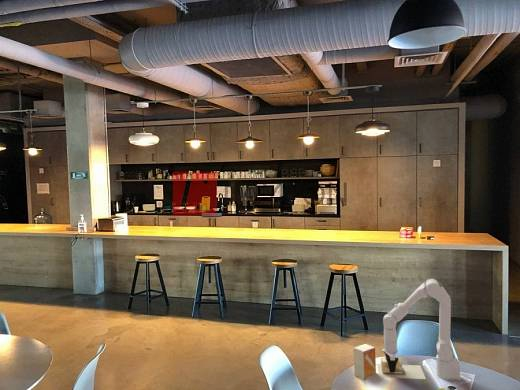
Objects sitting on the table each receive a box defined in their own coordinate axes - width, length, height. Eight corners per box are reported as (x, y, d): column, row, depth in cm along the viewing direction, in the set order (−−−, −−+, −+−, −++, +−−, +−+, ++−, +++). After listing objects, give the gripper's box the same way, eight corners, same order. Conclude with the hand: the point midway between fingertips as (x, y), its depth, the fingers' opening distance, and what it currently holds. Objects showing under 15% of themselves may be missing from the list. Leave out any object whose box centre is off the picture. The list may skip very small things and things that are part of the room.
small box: (364, 380, 192) (363, 351, 192) (354, 375, 198) (352, 347, 197) (376, 374, 197) (375, 347, 196) (366, 370, 202) (365, 343, 202)
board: (420, 367, 202) (420, 365, 202) (426, 381, 188) (425, 379, 188) (377, 366, 206) (376, 364, 206) (379, 379, 192) (379, 377, 192)
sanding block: (400, 368, 199) (400, 358, 199) (402, 373, 194) (401, 362, 194) (381, 367, 201) (380, 357, 201) (382, 372, 196) (381, 362, 196)
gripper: (380, 334, 205) (381, 362, 206) (382, 346, 191) (384, 376, 191) (395, 335, 204) (396, 362, 204) (399, 346, 190) (400, 376, 190)
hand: (391, 369), depth 198 cm, fingers closed on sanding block, 5 cm apart
